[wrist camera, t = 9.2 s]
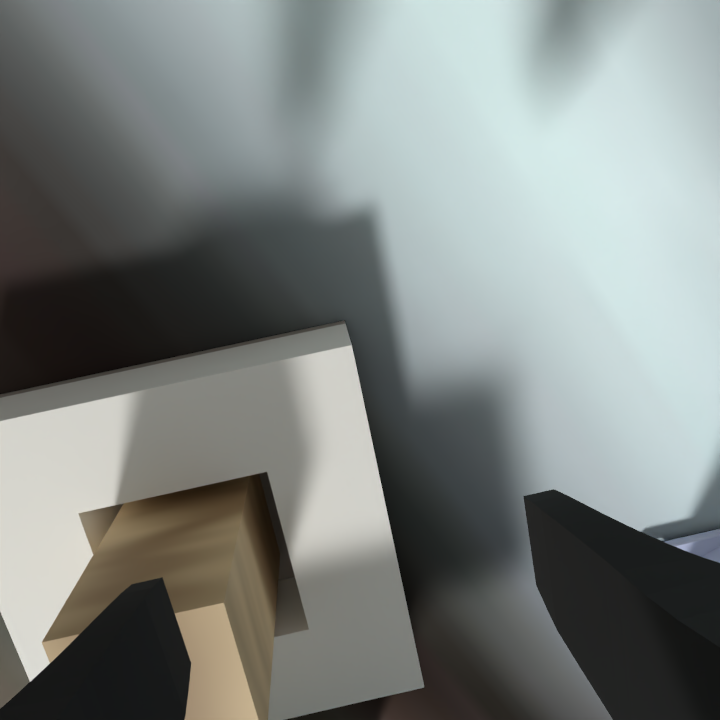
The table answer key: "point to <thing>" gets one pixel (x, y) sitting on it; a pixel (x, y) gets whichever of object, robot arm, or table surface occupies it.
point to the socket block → (208, 466)
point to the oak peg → (195, 588)
